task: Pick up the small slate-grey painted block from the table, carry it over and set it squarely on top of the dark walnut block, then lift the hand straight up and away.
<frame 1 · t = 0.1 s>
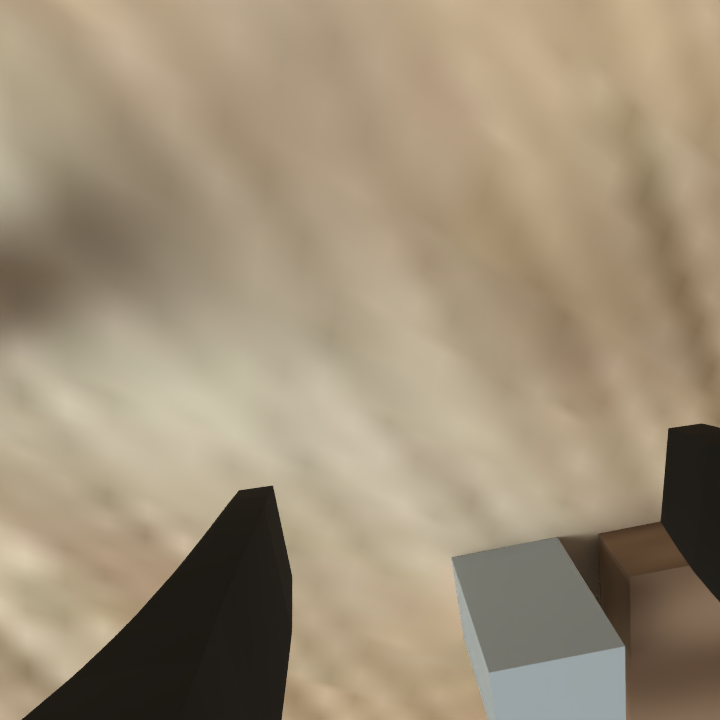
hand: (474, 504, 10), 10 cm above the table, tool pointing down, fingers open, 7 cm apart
grey block: (508, 587, 24), on the table
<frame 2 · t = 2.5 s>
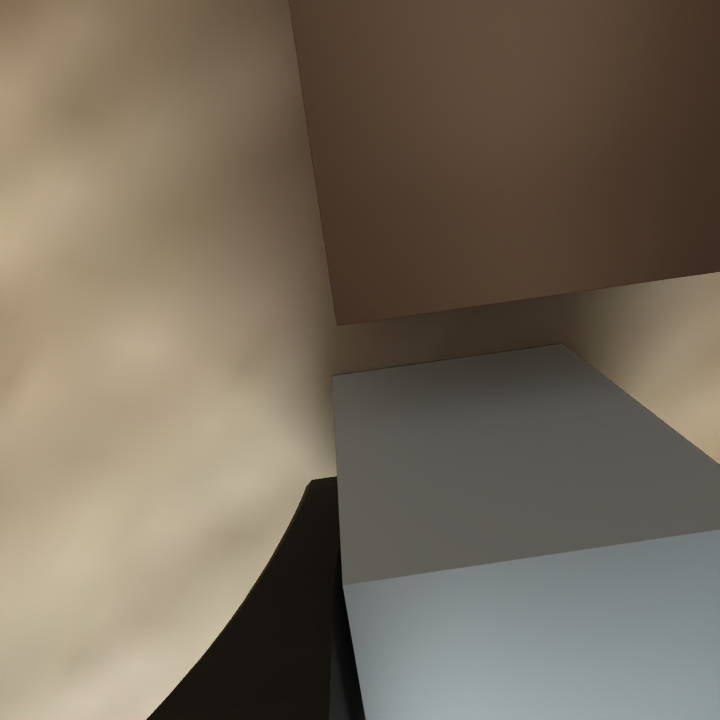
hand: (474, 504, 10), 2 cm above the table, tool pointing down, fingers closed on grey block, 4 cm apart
grey block: (455, 460, 11), on the table, touching gripper
when the fingers open (5 cm above the table, at t = 7.6 s): grey block drops 1 cm, point 2 cm above the table.
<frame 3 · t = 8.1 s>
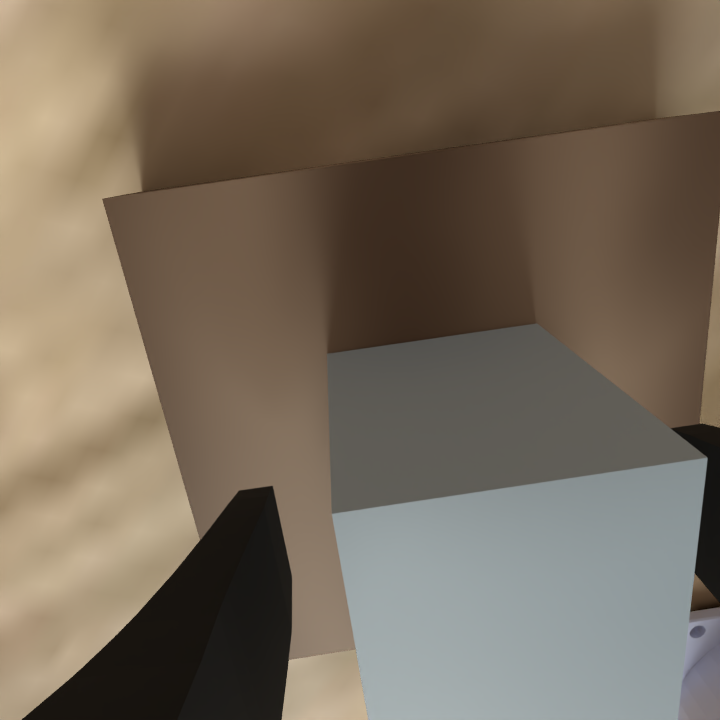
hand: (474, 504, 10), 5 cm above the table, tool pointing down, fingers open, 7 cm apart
walnut block: (421, 383, 15), on the table
grey block: (440, 431, 12), point 2 cm above the table
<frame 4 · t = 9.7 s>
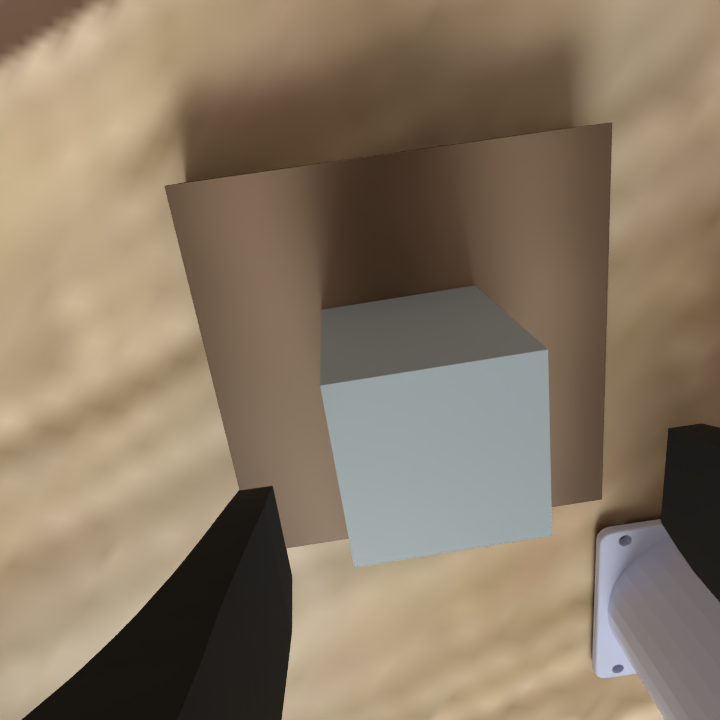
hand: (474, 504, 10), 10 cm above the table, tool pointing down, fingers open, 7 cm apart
walnut block: (398, 333, 19), on the table
grey block: (407, 369, 17), point 2 cm above the table
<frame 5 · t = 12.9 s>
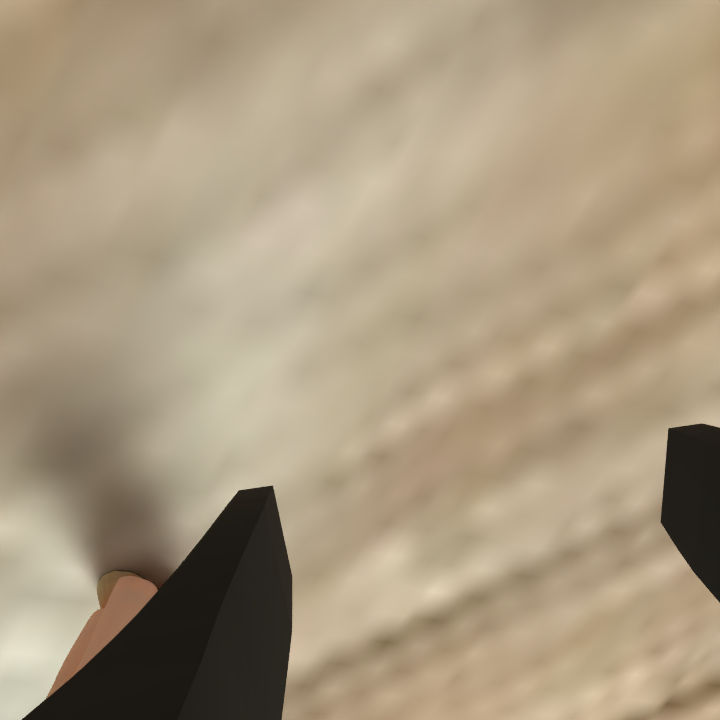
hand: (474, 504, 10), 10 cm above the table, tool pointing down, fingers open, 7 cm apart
grandmother figurine: (140, 593, 23), on the table
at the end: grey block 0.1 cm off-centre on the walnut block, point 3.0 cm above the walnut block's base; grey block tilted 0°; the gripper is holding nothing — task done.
